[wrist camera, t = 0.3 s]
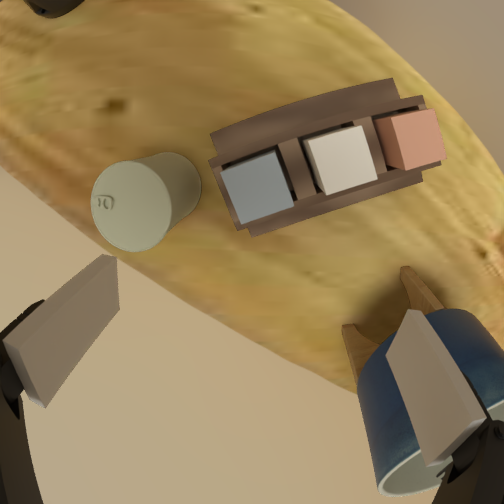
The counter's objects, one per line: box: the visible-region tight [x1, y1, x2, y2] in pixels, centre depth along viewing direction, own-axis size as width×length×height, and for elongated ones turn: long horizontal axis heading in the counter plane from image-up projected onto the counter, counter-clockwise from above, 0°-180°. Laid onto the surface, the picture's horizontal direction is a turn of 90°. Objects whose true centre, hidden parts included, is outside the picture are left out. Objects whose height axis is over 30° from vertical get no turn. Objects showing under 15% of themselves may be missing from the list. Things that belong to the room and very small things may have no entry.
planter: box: [342, 266, 504, 497], centre depth 30 cm, size 19×19×26 cm
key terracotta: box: [372, 108, 447, 171], centre depth 25 cm, size 5×5×6 cm
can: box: [91, 152, 201, 252], centre depth 31 cm, size 9×9×12 cm
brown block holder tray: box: [208, 78, 441, 237], centre depth 30 cm, size 14×24×7 cm, turn 111°
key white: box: [301, 125, 378, 195], centre depth 26 cm, size 5×5×6 cm
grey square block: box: [220, 150, 294, 224], centre depth 28 cm, size 5×5×6 cm
